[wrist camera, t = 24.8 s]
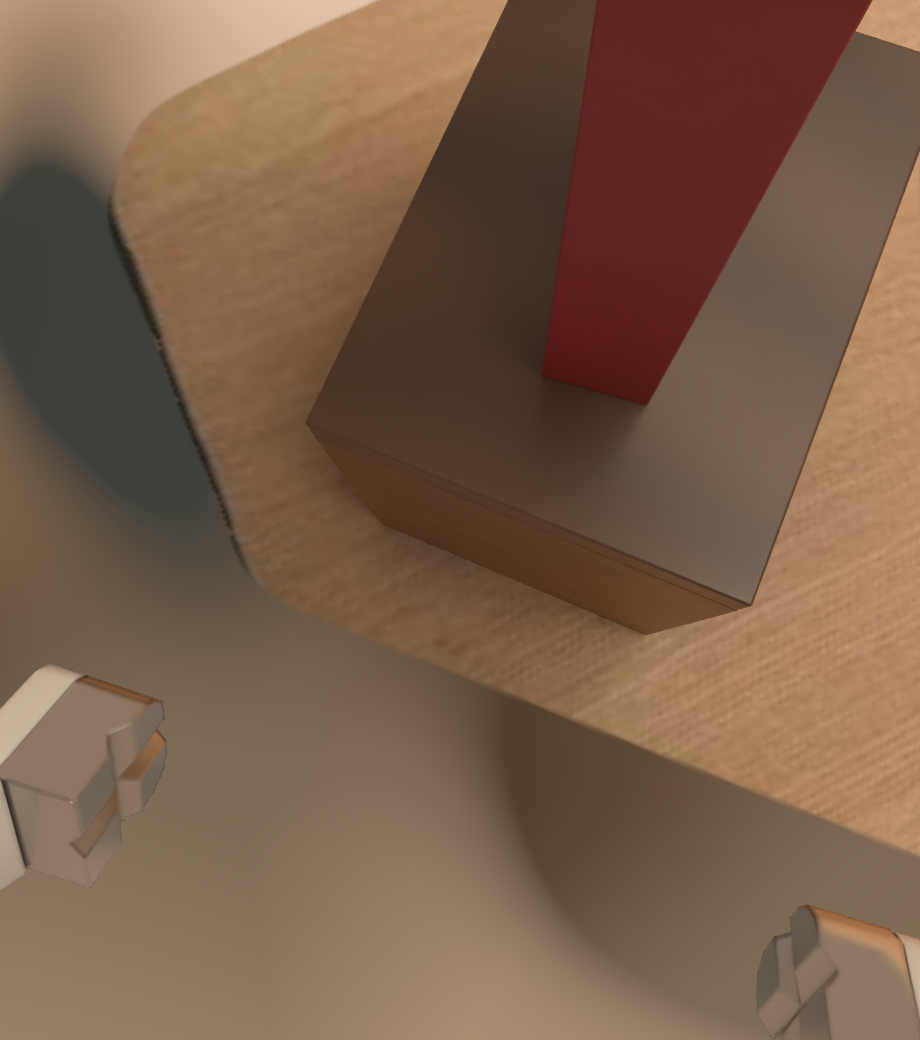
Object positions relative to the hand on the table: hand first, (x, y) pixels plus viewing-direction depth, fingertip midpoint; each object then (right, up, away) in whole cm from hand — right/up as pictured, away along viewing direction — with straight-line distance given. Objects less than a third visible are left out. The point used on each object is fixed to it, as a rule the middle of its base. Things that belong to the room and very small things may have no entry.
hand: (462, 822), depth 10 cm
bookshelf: (+5, +9, +25) cm, 27 cm away
